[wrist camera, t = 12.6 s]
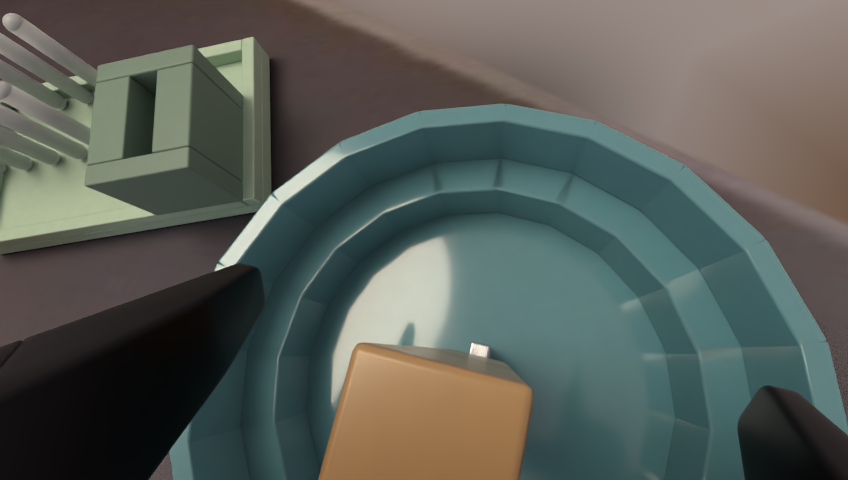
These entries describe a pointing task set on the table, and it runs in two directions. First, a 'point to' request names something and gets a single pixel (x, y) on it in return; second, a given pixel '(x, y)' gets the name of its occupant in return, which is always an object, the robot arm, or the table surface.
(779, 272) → the basin
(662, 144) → the table surface
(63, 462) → the robot arm
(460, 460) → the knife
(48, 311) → the table surface
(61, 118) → the dish rack
